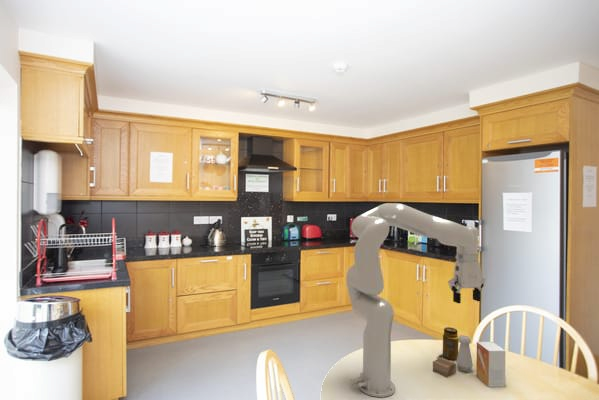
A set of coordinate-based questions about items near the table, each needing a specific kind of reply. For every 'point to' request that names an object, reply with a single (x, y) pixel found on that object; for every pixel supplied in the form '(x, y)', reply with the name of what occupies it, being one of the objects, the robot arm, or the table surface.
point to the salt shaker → (464, 354)
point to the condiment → (450, 345)
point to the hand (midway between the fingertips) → (466, 301)
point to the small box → (490, 364)
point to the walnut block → (444, 367)
